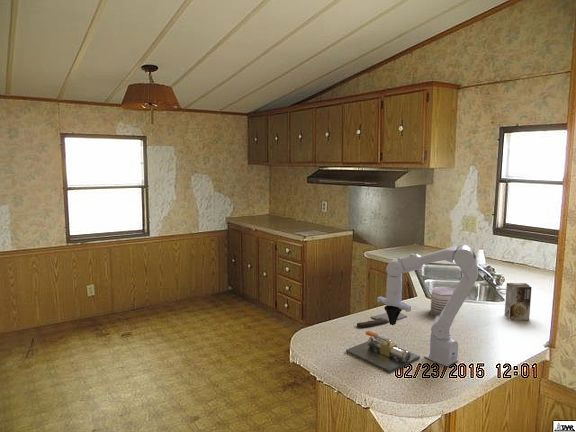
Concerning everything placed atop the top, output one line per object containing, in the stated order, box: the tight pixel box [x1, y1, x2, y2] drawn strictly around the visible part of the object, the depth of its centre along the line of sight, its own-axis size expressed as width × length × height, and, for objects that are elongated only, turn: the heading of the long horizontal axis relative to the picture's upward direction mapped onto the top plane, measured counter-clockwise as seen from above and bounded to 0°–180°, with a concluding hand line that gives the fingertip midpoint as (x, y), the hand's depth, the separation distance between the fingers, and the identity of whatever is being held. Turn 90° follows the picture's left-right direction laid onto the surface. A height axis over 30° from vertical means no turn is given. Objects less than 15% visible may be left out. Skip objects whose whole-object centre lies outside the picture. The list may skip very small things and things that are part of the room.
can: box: [430, 286, 456, 317], centre depth 210 cm, size 11×11×12 cm
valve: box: [345, 336, 421, 374], centre depth 166 cm, size 21×18×6 cm
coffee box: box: [504, 282, 532, 321], centre depth 205 cm, size 9×6×16 cm
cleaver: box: [356, 312, 408, 329], centre depth 202 cm, size 29×10×2 cm, turn 125°
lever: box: [365, 330, 393, 343], centre depth 168 cm, size 12×2×1 cm, turn 41°
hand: (392, 324), depth 170 cm, fingers closed
